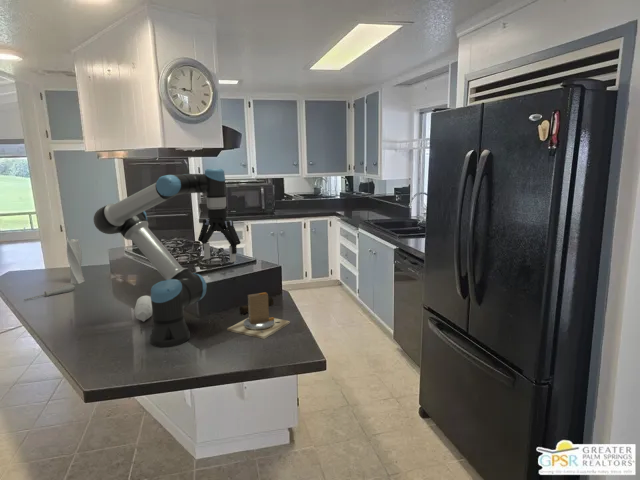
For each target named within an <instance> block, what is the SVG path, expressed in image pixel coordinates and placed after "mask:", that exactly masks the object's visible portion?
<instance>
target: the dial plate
mask: <svg viewBox="0 0 640 480" xmlns="http://www.w3.org/2000/svg"><path fill="white" fill-rule="evenodd" d="M248 318H249V317H247V318H245V319H243V320H241V321H239V322H237V323H236V324H234V325H232V326H229V327H227V329H226V331H228V332H231V333H236V334H240V335H243V336H244V335H245V336H249V337H253V338H257V339H262V340H265V339H267V338H268V337H270V336H271V335H273V334H275V333H277V332H278V331H280V330H281V329H283V328H285V327H286V326H288V325H289V324H290V323H291V322H290V320H286V319H280V318H277V317H274V325H273V326H272V327H270V328H267V329H262V330H251V329H247V328H245V327H244V321H245V320H246V319H248Z"/></svg>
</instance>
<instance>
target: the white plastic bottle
mask: <svg viewBox="0 0 640 480" xmlns="http://www.w3.org/2000/svg"><path fill="white" fill-rule="evenodd" d="M133 313H134V316H135V318H136V319H137V320H139V321H142V322H145V321H146V320H148V319H150V317H153V313H152V303H151V295H142V296H140V297H138V298H137V300H136V304H135V307H134V309H133Z"/></svg>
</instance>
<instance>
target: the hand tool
mask: <svg viewBox="0 0 640 480" xmlns="http://www.w3.org/2000/svg"><path fill="white" fill-rule="evenodd" d="M274 302H275V301H274V298H273V297H272V296H268V306H269V307H271V306H273V305H274ZM239 312H240V314H242V315H244V314H247V313H249V311H248V304H245V305H240V306H239Z"/></svg>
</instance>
